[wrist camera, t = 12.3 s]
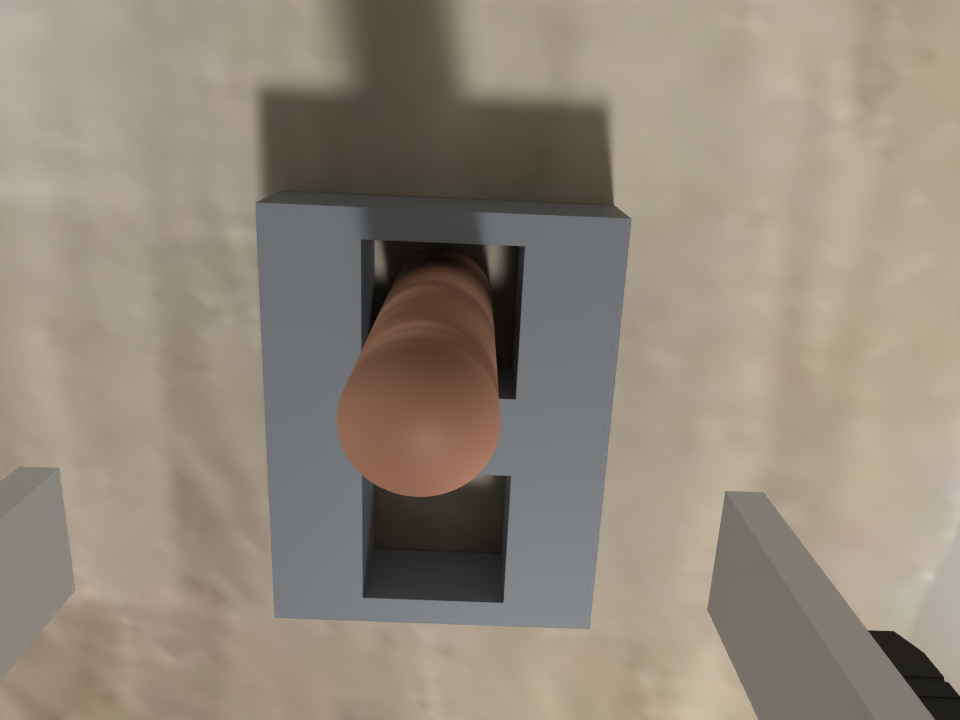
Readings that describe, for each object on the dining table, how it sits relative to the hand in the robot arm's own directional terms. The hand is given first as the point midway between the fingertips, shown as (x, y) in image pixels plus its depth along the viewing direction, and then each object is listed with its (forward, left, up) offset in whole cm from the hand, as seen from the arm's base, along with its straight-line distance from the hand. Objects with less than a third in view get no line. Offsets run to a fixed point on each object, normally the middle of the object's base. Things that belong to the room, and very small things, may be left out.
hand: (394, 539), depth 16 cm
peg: (0, 0, -20) cm, 20 cm away
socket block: (0, -5, -20) cm, 20 cm away
